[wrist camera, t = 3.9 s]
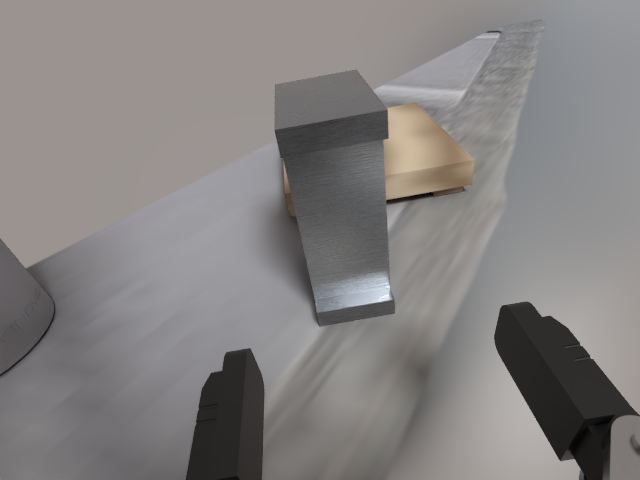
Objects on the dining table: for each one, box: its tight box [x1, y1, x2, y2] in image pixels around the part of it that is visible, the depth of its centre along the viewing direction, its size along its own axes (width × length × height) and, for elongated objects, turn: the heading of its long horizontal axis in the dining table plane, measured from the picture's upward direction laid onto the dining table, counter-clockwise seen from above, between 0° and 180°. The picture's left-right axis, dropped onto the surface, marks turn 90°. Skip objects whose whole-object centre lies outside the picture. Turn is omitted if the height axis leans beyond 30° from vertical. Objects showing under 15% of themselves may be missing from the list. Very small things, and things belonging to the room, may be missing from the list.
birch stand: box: [283, 103, 475, 217], centre depth 35 cm, size 15×15×3 cm
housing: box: [275, 70, 395, 326], centre depth 21 cm, size 4×7×12 cm, turn 5°
